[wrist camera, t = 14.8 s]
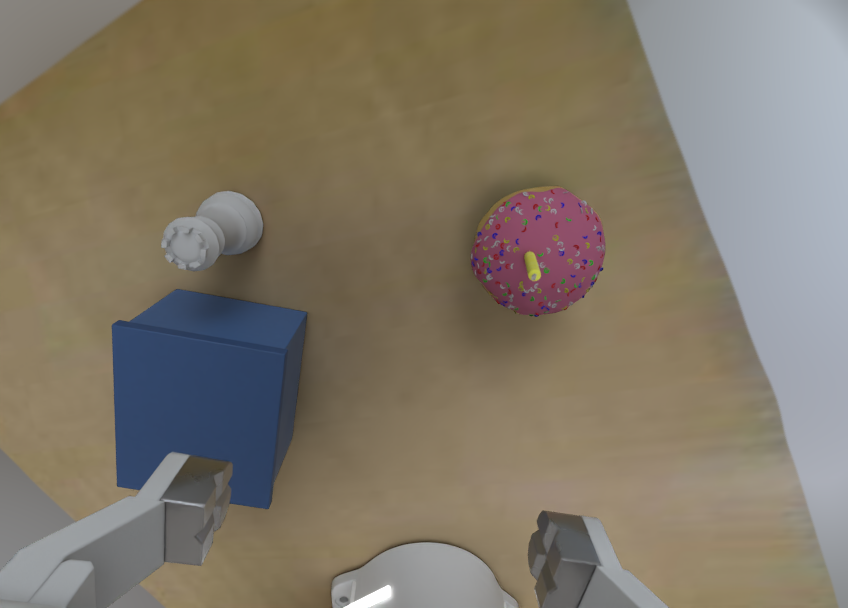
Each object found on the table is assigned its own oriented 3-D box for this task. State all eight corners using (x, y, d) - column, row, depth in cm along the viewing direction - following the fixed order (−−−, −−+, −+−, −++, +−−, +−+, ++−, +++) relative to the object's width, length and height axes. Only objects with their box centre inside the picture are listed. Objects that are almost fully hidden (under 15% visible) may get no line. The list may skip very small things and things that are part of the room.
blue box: (295, 442, 42) (268, 509, 35) (170, 422, 41) (116, 487, 34) (311, 309, 38) (285, 354, 30) (172, 284, 37) (111, 324, 30)
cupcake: (451, 274, 37) (464, 342, 25) (487, 162, 34) (520, 183, 23) (557, 304, 38) (615, 381, 26) (601, 196, 35) (687, 233, 23)
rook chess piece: (195, 235, 36) (135, 266, 28) (213, 179, 34) (155, 195, 27) (253, 261, 36) (210, 297, 29) (274, 206, 35) (233, 230, 27)
